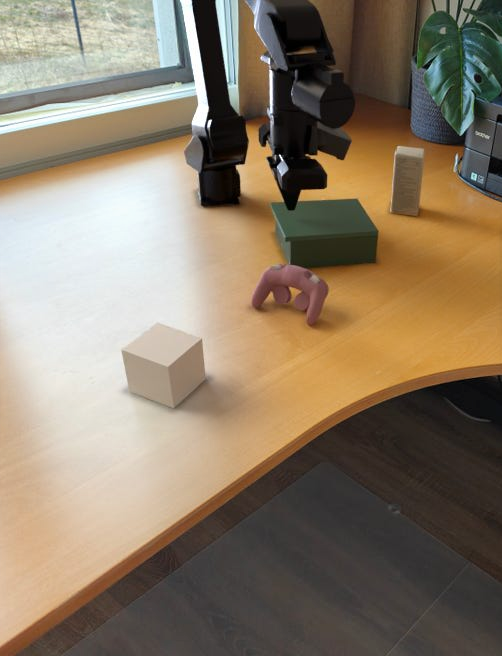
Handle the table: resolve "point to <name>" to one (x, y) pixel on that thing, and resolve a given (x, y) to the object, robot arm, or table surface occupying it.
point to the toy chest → (329, 251)
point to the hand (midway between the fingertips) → (290, 209)
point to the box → (407, 180)
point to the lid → (323, 220)
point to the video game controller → (295, 277)
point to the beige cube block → (164, 364)
